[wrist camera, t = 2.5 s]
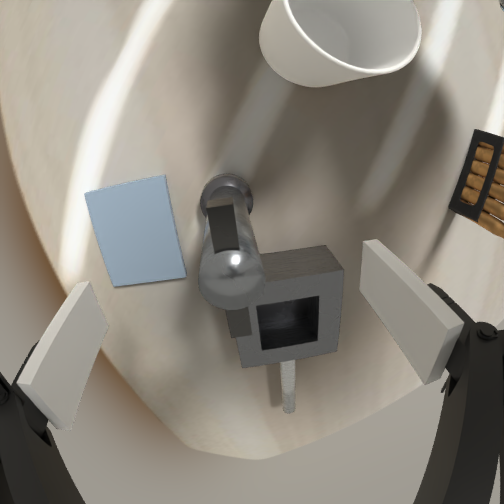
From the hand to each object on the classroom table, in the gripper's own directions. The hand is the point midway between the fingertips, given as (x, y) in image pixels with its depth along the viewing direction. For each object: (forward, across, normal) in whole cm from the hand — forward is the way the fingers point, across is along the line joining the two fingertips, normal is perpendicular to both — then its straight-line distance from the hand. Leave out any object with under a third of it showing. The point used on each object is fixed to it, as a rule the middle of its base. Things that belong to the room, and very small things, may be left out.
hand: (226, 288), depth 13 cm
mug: (+14, +9, +15) cm, 23 cm away
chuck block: (+14, +4, -17) cm, 23 cm away
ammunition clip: (+14, +28, +1) cm, 32 cm away
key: (+14, 0, 0) cm, 14 cm away
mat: (+14, -9, -2) cm, 17 cm away
